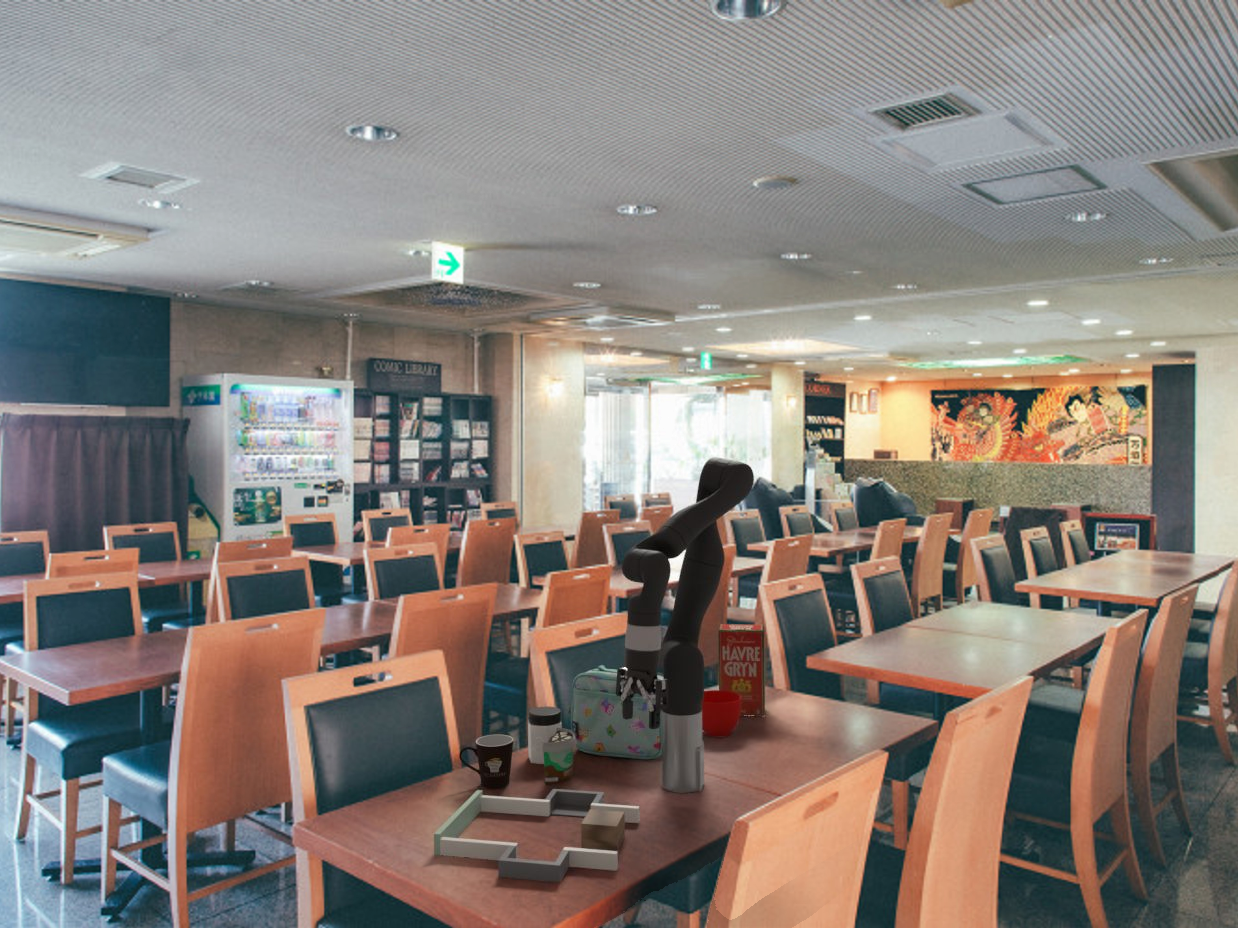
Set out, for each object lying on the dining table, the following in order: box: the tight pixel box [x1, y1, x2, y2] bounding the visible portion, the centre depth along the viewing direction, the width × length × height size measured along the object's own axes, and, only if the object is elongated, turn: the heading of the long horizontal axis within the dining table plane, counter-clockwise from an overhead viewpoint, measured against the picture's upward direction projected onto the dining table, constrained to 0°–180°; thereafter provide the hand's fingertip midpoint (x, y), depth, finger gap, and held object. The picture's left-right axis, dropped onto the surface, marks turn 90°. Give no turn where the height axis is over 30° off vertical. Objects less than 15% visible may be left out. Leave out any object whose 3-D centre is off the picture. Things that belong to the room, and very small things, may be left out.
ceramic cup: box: [702, 689, 741, 738], centre depth 241 cm, size 13×17×10 cm
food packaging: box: [717, 623, 766, 717], centre depth 260 cm, size 13×9×25 cm
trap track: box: [433, 788, 640, 883], centre depth 175 cm, size 35×35×4 cm
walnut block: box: [580, 809, 626, 852], centre depth 173 cm, size 7×7×5 cm
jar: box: [527, 706, 563, 765], centre depth 221 cm, size 9×8×12 cm
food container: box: [543, 727, 577, 786], centre depth 208 cm, size 12×6×10 cm, turn 168°
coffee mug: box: [458, 734, 514, 790], centre depth 205 cm, size 12×9×10 cm
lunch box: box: [567, 664, 664, 760], centre depth 225 cm, size 27×10×21 cm, turn 68°
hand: (640, 723), depth 185 cm, fingers open, 8 cm apart
